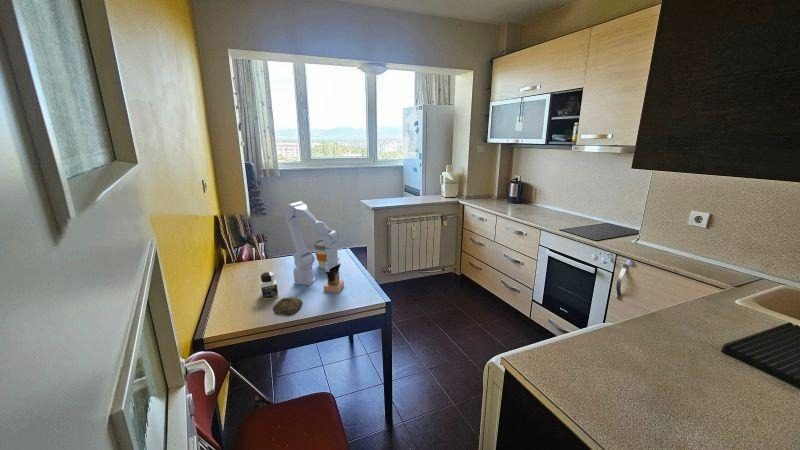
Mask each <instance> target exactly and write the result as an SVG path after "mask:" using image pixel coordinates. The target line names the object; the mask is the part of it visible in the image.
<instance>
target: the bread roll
mask: <svg viewBox="0 0 800 450" xmlns="http://www.w3.org/2000/svg"><path fill="white" fill-rule="evenodd" d="M302 305H303V301H302V300H301V298H298V297H295V296H292V297H288V296H287V297H283V298H281V299H280V300H278V301H277V302H276V304H274V305H273V307H272V310H273V312H274V314H277V315H280V314H283V316H286V315H287V316H292V315H294V314H295V313H297V312H298V311H299V310H300V309H301V307H302Z"/></svg>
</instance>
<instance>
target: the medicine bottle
mask: <svg viewBox="0 0 800 450" xmlns="http://www.w3.org/2000/svg"><path fill="white" fill-rule="evenodd" d="M259 283H260V291H261V296H262V300H263V301H264V300H269V299H274V298H278V297H279V290H278V283H277V281H276V278H275V274H274V272H271V271H265V272H263V273H261V275H260V281H259Z"/></svg>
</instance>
